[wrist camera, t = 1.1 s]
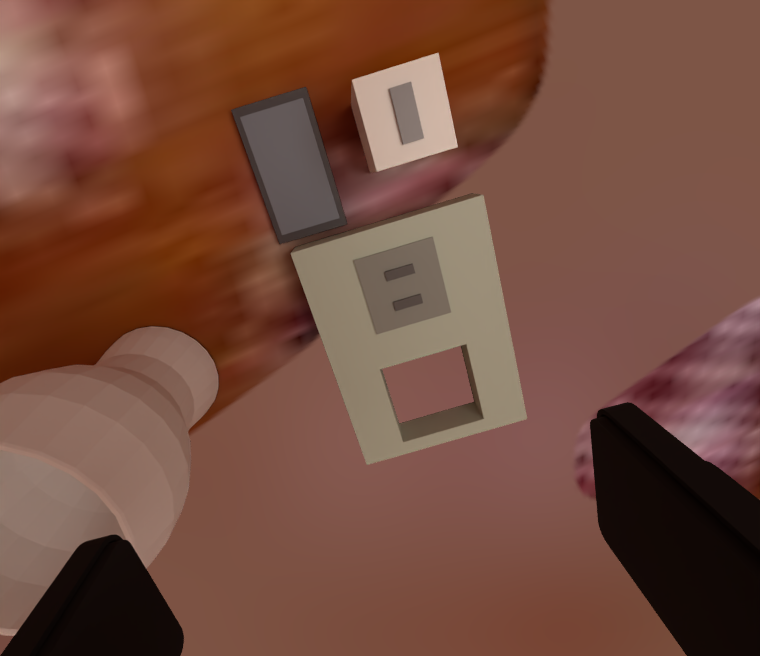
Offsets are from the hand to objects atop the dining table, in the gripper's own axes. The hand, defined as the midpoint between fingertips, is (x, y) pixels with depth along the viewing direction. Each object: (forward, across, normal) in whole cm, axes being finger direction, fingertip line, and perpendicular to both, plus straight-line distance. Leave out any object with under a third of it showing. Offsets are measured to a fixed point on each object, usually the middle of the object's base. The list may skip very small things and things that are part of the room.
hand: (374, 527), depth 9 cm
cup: (+22, +15, +4) cm, 27 cm away
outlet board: (+22, -3, +5) cm, 23 cm away
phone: (+23, +2, -7) cm, 24 cm away
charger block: (+22, -5, -8) cm, 24 cm away
